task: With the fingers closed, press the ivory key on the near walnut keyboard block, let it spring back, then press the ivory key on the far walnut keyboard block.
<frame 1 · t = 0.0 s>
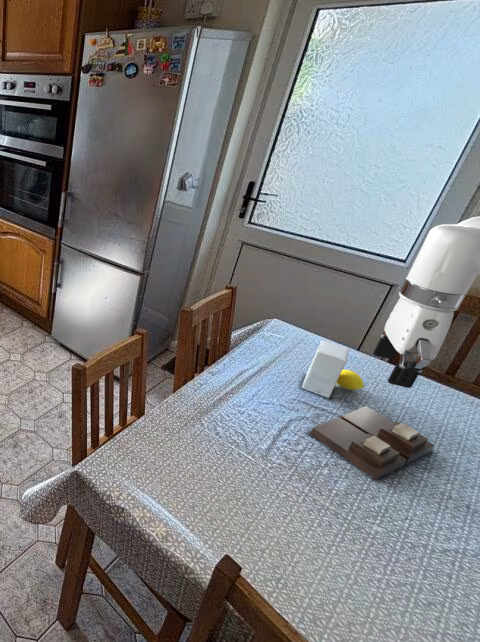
hand: (390, 370, 81), 30 cm above the table, tool pointing down, fingers open, 9 cm apart
key e: (376, 445, 95), point 4 cm above the table, slide at 0.1 cm
small box: (317, 387, 120), on the table
keys high: (354, 449, 99), on the table
lemon: (344, 387, 119), on the table
key c: (405, 432, 98), point 4 cm above the table, slide at 0.1 cm
keys low: (382, 436, 103), on the table
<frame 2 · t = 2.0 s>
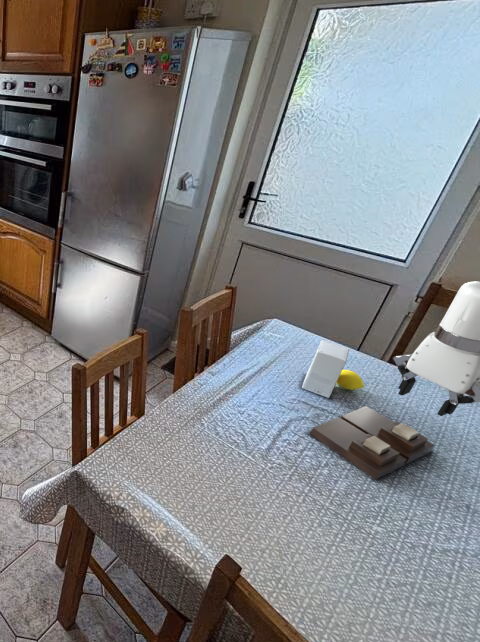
hand: (422, 402, 94), 14 cm above the table, tool pointing down, fingers open, 6 cm apart
nothing on the table moved.
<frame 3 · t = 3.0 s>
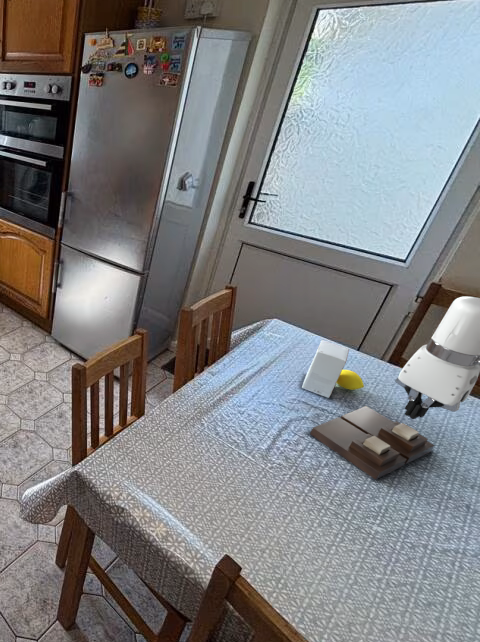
hand: (412, 415, 96), 10 cm above the table, tool pointing down, fingers closed
nothing on the table moved.
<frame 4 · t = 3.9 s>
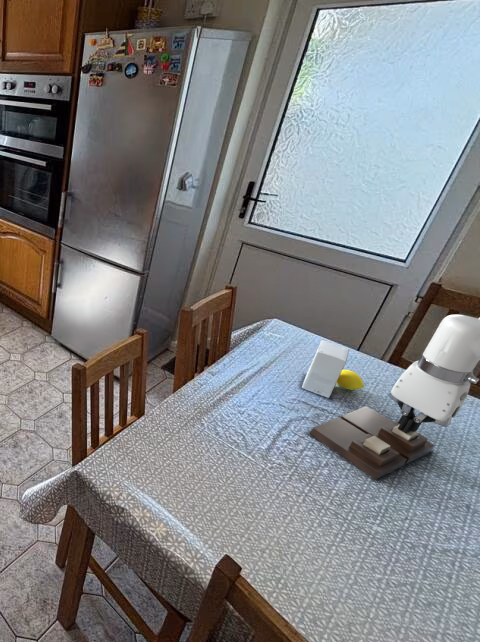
hand: (405, 429, 98), 5 cm above the table, tool pointing down, fingers closed
key c: (404, 432, 99), point 4 cm above the table, slide at -0.1 cm, touching gripper
everything else where it was.
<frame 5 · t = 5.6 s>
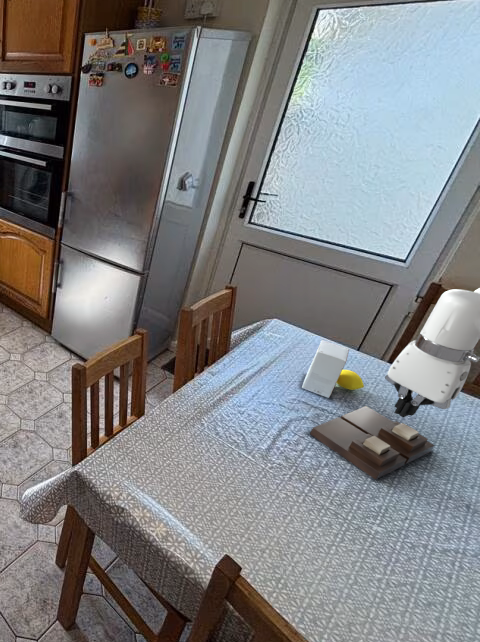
hand: (402, 413, 93), 12 cm above the table, tool pointing down, fingers closed
key c: (405, 432, 98), point 4 cm above the table, slide at 0.1 cm
everything else where it was.
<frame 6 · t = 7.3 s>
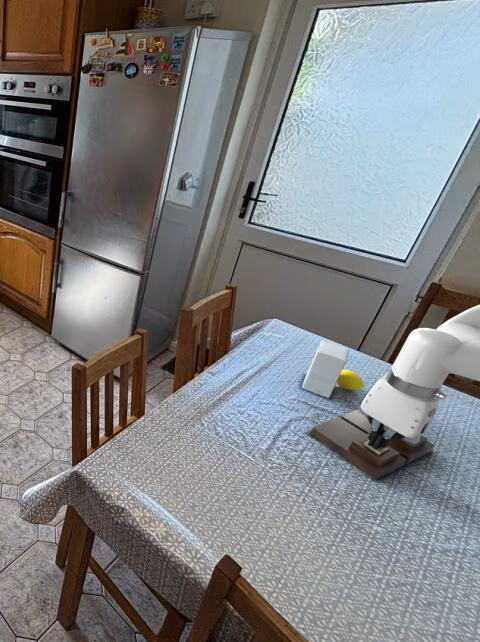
hand: (375, 445, 95), 4 cm above the table, tool pointing down, fingers closed
key e: (374, 448, 95), point 3 cm above the table, slide at -0.9 cm, touching gripper
everything else where it was.
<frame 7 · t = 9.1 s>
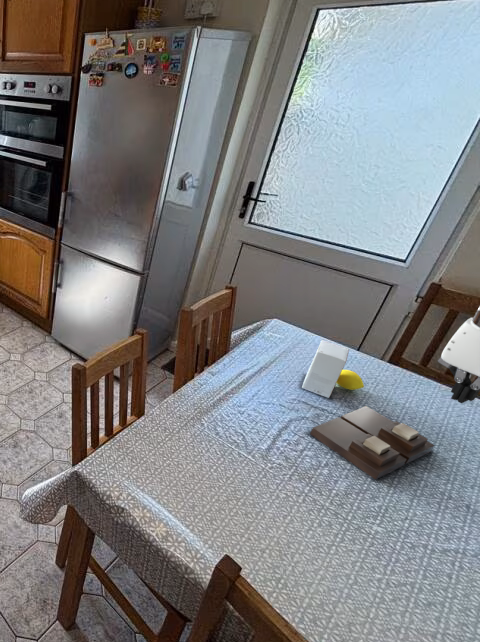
hand: (460, 399, 85), 21 cm above the table, tool pointing down, fingers closed
key e: (376, 445, 95), point 4 cm above the table, slide at 0.1 cm
everything else where it was.
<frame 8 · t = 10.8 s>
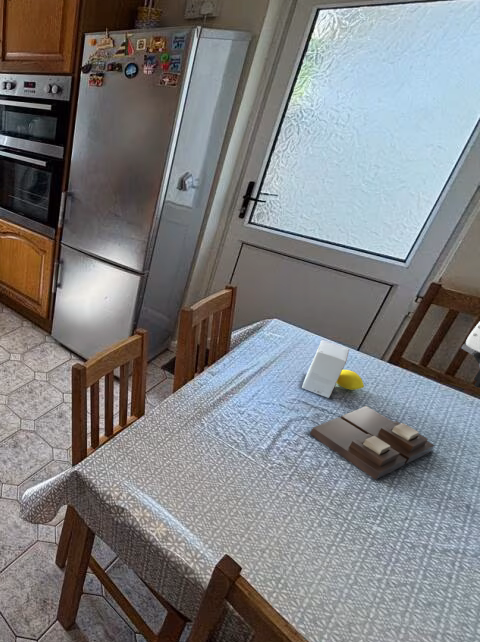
nothing on the table moved.
at the end: key c pushed in 1.1 cm at the most during the clip, back to where it started at the end; key e pushed in 1.1 cm at the most during the clip, back to where it started at the end; key e slide at 0.1 cm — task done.
